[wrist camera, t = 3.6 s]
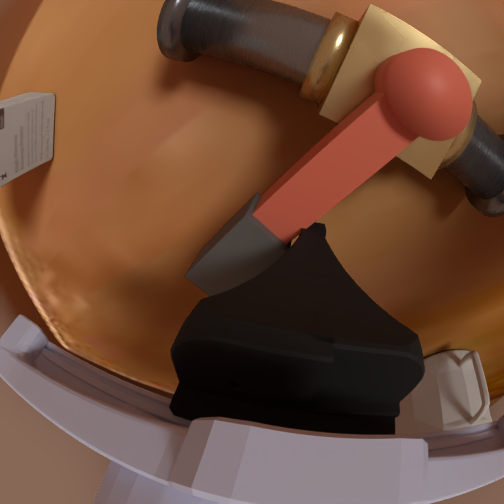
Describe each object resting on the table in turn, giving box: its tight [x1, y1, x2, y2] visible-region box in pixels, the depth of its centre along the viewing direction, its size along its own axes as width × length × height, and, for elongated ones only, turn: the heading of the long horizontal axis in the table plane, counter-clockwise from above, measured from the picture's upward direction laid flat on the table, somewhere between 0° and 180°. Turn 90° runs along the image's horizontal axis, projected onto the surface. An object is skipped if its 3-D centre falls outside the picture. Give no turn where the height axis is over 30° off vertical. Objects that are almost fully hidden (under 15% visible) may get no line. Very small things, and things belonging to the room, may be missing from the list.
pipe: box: [157, 0, 504, 217], centre depth 9 cm, size 18×5×5 cm, turn 70°
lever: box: [184, 48, 473, 296], centre depth 9 cm, size 12×3×2 cm, turn 139°
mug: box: [395, 349, 492, 435], centre depth 18 cm, size 14×11×10 cm
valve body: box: [299, 4, 481, 179], centre depth 9 cm, size 7×5×5 cm
